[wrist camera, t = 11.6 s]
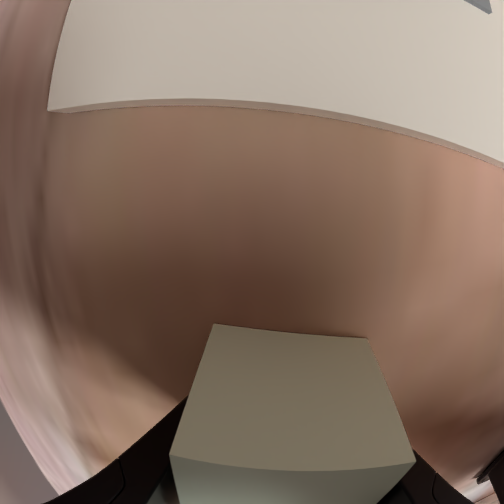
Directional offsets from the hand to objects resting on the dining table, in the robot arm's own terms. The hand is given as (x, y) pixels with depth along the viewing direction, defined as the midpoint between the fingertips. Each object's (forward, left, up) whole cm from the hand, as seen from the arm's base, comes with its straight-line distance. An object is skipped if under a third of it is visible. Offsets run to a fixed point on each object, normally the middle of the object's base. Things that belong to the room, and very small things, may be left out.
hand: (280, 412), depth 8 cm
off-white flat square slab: (-1, -16, -1) cm, 16 cm away
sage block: (0, 0, -1) cm, 1 cm away
